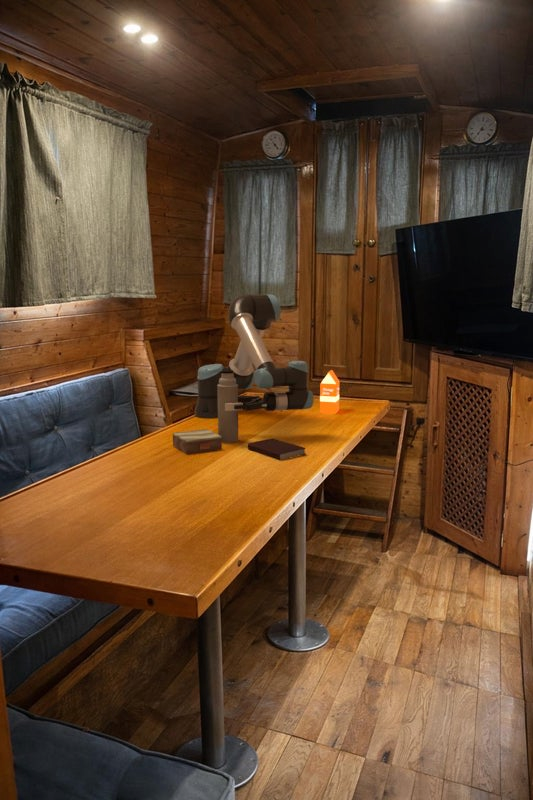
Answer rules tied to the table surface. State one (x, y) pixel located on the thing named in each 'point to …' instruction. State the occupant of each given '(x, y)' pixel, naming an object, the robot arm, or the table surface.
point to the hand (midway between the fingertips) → (221, 403)
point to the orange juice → (329, 394)
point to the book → (276, 448)
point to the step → (197, 441)
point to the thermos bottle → (225, 418)
